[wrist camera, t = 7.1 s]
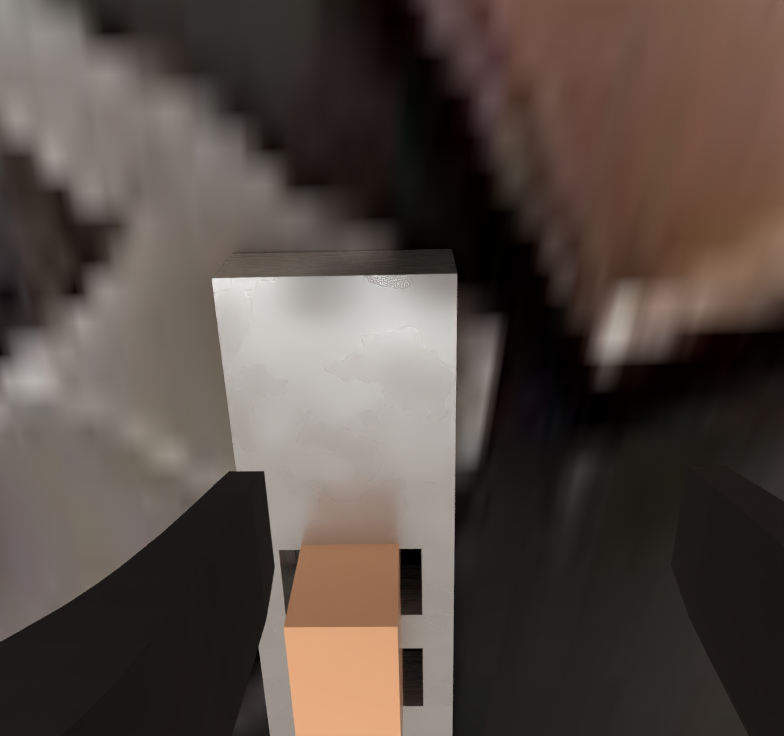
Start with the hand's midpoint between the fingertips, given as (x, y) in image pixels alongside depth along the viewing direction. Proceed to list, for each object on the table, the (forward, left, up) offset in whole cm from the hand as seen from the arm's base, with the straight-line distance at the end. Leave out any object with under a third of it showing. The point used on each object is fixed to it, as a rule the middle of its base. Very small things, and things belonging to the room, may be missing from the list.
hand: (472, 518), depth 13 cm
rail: (+3, +10, -10) cm, 15 cm away
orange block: (+3, +10, -10) cm, 15 cm away
